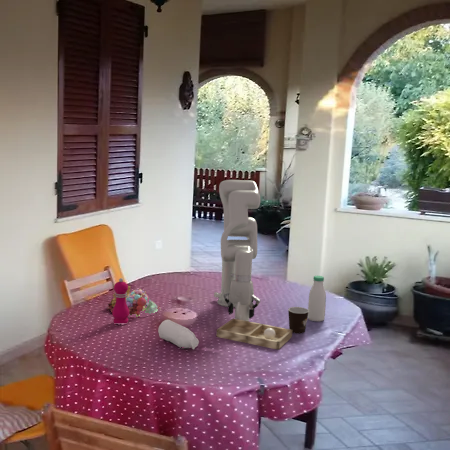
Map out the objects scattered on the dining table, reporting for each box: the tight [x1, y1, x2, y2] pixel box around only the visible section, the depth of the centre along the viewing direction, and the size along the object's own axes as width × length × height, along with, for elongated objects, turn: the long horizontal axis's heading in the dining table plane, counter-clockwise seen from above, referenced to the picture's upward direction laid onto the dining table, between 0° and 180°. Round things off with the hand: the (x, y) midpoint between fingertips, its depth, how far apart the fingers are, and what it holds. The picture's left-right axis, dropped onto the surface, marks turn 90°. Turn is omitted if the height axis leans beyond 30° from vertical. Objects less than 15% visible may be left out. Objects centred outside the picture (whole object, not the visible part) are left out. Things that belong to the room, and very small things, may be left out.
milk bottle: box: [307, 275, 327, 322], centre depth 267 cm, size 8×8×20 cm
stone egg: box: [264, 328, 276, 340], centre depth 239 cm, size 5×5×5 cm
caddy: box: [216, 317, 293, 351], centre depth 242 cm, size 27×16×4 cm, turn 65°
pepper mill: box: [111, 277, 129, 324], centre depth 253 cm, size 7×7×20 cm
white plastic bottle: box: [157, 319, 200, 350], centre depth 231 cm, size 8×19×8 cm, turn 42°
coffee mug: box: [287, 306, 309, 335], centre depth 251 cm, size 12×9×10 cm
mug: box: [234, 302, 250, 322], centre depth 258 cm, size 10×7×12 cm, turn 158°
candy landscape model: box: [106, 285, 161, 317], centre depth 273 cm, size 25×24×9 cm
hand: (240, 315), depth 258 cm, fingers open, 9 cm apart
